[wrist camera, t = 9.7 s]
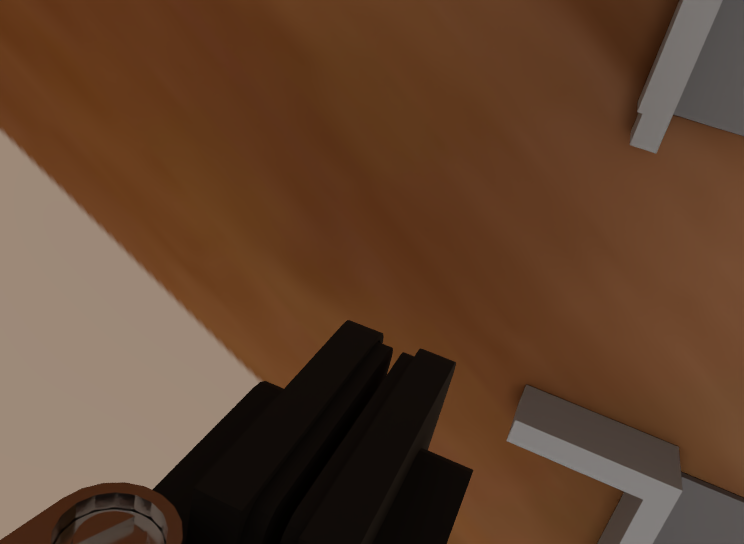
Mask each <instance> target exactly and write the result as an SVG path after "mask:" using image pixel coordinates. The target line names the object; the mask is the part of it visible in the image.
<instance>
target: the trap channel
mask: <svg viewBox="0 0 744 544" xmlns="http://www.w3.org/2000/svg"><path fill="white" fill-rule="evenodd" d="M637 112H638V116H637V118H636V121H635V123H634V125H633V128H632V130H631V135H630V145H631V146H634V147H638V148H641V149H644V150H647V151H650V152H653V153H657V151H658V148H659V146H660V144H661V141H662V139H663V137H664V134H665V132H666V130H667V127H668V125H669V123H670V121H671V118H672V116H673V115H676V116H680V117H683V118H686V119H689V120H693V121H696V122H699V123H702V124H706V125H709V126H712V127H715V128H719V129H722V130H725V131H728V132H732V133H735V134H738V135H742V136H744V0H679V3H678V5H677V8H676V10H675V12H674V15H673V17H672V20H671V22H670V25H669V27H668V29H667V32H666V34H665V37H664V39H663V42H662V44H661V47H660V49H659V51H658V54H657V56H656V59H655V61H654V64H653V66H652V69H651V71H650V73H649V76H648V78H647V81H646V83H645V86H644V88H643V90H642V93H641V95H640V98H639V100H638V103H637ZM507 441H508V442H511V443H513V444H515V445H517V446H520V447H522V448H524V449H527V450H529V451H531V452H534V453H536V454H538V455H541V456H543V457H545V458H548V459H550V460H552V461H555V462H557V463H559V464H562V465H564V466H566V467H568V468H571V469H573V470H575V471H578V472H580V473H582V474H585V475H587V476H589V477H592V478H594V479H596V480H599V481H601V482H603V483H606V484H608V485H610V486H613V487H615V488H617V489H619V490H622V491H624V494H623V495H622V497H621V499H620V501H619V503H618V505H617V507H616V509H615V511H614V513H613V515H612V516H611V518H610V520H609V522H608V524H607V526H606V528H605V530H604V532H603V534H602V536H601V538H600V539H599V541H598V543H597V544H744V498H742V497H740V496H738V495H735V494H733V493H731V492H728V491H726V490H723V489H721V488H719V487H716V486H714V485H711V484H709V483H707V482H704V481H702V480H699V479H697V478H695V477H692V476H690V475H687V474H685V473H683V472H681V467H680V456H679V447H678V446H675V445H673V444H670V443H668V442H666V441H663V440H661V439H658V438H656V437H653V436H651V435H648V434H646V433H644V432H641V431H639V430H636V429H634V428H631V427H629V426H627V425H624V424H622V423H619V422H617V421H614V420H612V419H609V418H607V417H605V416H602V415H600V414H597V413H595V412H592V411H590V410H588V409H585V408H583V407H580V406H578V405H575V404H573V403H570V402H568V401H566V400H563V399H561V398H558V397H556V396H553V395H551V394H548V393H546V392H544V391H541V390H539V389H536V388H534V387H531V386H529V385H527V384H526V387H525V389H524V392H523V394H522V396H521V399H520V401H519V404H518V407H517V410H516V413H515V416H514V419H513V422H512V426H511V429H510V432H509V435H508V438H507Z"/></svg>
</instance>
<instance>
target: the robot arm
mask: <svg viewBox="0 0 744 544" xmlns="http://www.w3.org/2000/svg"><path fill="white" fill-rule="evenodd" d="M382 343H383V333H380V332H378V331H375V330H373V329H370V328H368V327H365V326H363V325H360V324H358V323H355V322H353V321H350V320H347V321H346V322H345V323H344V324H343V325H342V326H341V327H340V328H339V329H338V330H337V331H336V333H335V334H334V335H333V336H332V337H331V338H330V339H329V340H328V341H327V342H326V344H325V345H324V346H323V347H322V348H321V349H320V350H319V351H318V352H317V353H316V354H315V356H314V357H313V358H312V359H311V360H310V361H309V362H308V363H307V364H306V365H305V367H304V368H303V369H302V370H301V371H300V372H299V373H298V374H297V375H296V376H295V378H294V379H293V380H292V381H291V382H290V383H289V384H288V385H287V386H286V387H285V389H283V388H281V387H278V386H276V385H274V384H271V383H269V382H267V381H263V382H260V383H259V384H258V385H256V386H255V387H254V388H253V389H252V390H251V391H250V392H249V393H248V394H247V395H246V396H245V397H244V398H243V399H242V400H241V401H240V402H239V403H238V404H237V405H236V406H235V407H234V408H233V409H232V410H231V411H230V412H229V413H228V414H227V415H226V416H225V417H224V418H223V419H222V420H221V421H220V422H219V423H218V424H217V425H216V426H215V427H214V428H213V429H212V430H211V431H210V432H209V433H208V434H207V435H206V436H205V437H204V438H203V439H202V440H201V441H200V442H199V443H198V444H197V445H196V446H195V447H194V448H193V449H192V450H191V451H190V452H189V453H188V454H187V455H186V457H184V458H183V459H182V460H181V461H180V462H179V464H178V465H176V466H175V468H173V470H171V471H170V472H169V473H168V475H167V476H166V477H165V478H164V479H163V480H162V481H161V482H160V483H159V484H158V485H157V486H156V487H155V488H154V489H153V490H151V489H149V488H147V487H144V486H139V485H135V484H130V483H102V484H98V485H94V486H90V487H86V488H82V489H80V490H78V491H76V492H74V493H72V494H70V495H68V496H67V497H64V498H62V499H61V500H59V501H58V502H56V503H55V504H53V505H52V506H50V507H49V508H47V509H46V510H44V511H43V512H41V513H40V514H39V515H37V516H35V517H34V518H32V519H31V520H29V521H28V522H27V523H25V524H23V525H22V526H21V527H19V528H18V529H16V530H15V531H13V532H12V533H10V534H9V535H7V536H6V537H4V538H3V539H1V540H0V544H447V541H448V538H449V536H450V533H451V530H452V527H453V525H454V522H455V519H456V516H457V514H458V511H459V508H460V505H461V503H462V500H463V497H464V495H465V492H466V489H467V486H468V484H469V481H470V478H471V475H472V473H473V470H472V469H470V468H467V467H465V466H463V465H460V464H458V463H456V462H453V461H451V460H449V459H446V458H444V457H442V456H439V455H437V454H435V453H432V452H430V451H428V447H429V444H430V441H431V438H432V435H433V432H434V429H435V426H436V423H437V421H438V418H439V415H440V412H441V409H442V406H443V403H444V400H445V397H446V394H447V391H448V388H449V385H450V382H451V379H452V376H453V373H454V369H455V366H456V362H454V361H451V360H449V359H446V358H444V357H441V356H439V355H436V354H434V353H431V352H429V351H426V350H424V349H419V351H418V352H417V353H416V355H415V357H414V356H412V355H409V354H407V353H404V352H403V353H402V354H401V355H400V357H399V358H398V360H397V361H396V362H395V364H394V365H393V367H392V368H391V370H390V371H389V373H388V374H387V372H388V368H389V365H390V361H391V358H392V353H393V348H392V347H389V346H386V345H384V344H382ZM386 375H387V376H386Z"/></svg>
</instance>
